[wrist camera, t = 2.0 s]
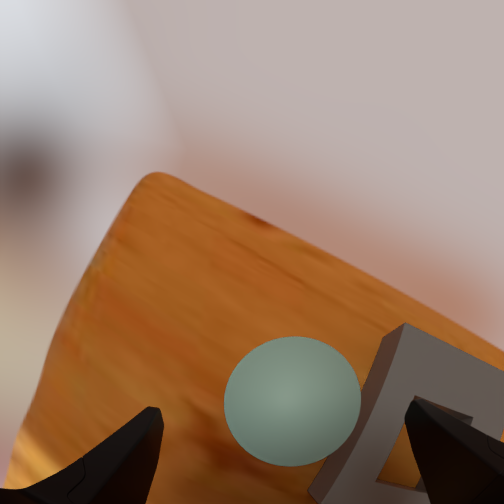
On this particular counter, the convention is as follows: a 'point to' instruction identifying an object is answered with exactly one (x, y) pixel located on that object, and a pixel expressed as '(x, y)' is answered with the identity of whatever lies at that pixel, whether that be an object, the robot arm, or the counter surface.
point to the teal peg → (292, 401)
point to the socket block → (395, 406)
